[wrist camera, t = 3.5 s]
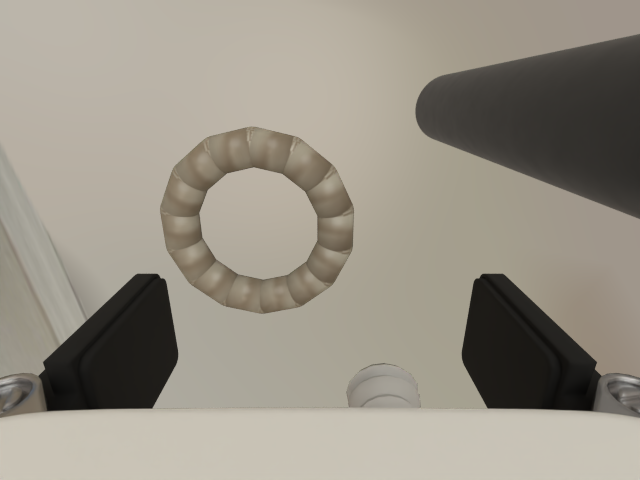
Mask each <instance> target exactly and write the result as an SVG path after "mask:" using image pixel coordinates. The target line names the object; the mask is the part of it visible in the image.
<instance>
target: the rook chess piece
mask: <svg viewBox="0 0 640 480" xmlns="http://www.w3.org/2000/svg"><path fill="white" fill-rule="evenodd" d="M347 397H348V404H349V408H420V396H419V393H418V386H417V383H416V381H415V380H414V378H413V377H412V375H411V374H410V373H408V372H407V371H405V370H403V369H402V368H400V367H398V366H395V365H390V364H385V363H383V364H375V365H370V366H368V367H366V368H364V369H362V370H361V371H359V372H358V373H357V374H356V375H355V376H354V377H353V379H352V380H351V381H350V383H349V386H348V389H347Z"/></svg>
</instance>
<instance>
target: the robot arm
mask: <svg viewBox="0 0 640 480" xmlns="http://www.w3.org/2000/svg"><path fill="white" fill-rule="evenodd" d="M177 360H178V348H177V342H176V336H175V331H174V325H173V319H172V313H171V307H170V301H169V295H168V290H167V284H166V281H165V279H161V278H160V276H159V275H158V274H136V275H135V276H134V277H133V278H132V279H131V280H130V281H129V282H127V283H126V284H125V285H124V286H123V287H122V288H121V289H120V290H119V291H118V292H117V293H116V294H115V295H114V296H113V297H112V298H111V299H110V300H108V301H107V302H106V303H105V304H104V305H103V306H102V307H101V308H100V309H99V310H98V311H97V312H96V313H95V314H94V315H93V316H91V317H90V318H89V319H88V320H87V321H86V322H85V323H84V324H83V325H82V326H81V327H80V328H79V329H78V330H77V331H76V332H75V333H73V334H72V335H71V336H70V337H69V338H68V339H67V340H66V341H65V342H64V343H63V344H62V345H61V346H60V347H59V348H58V349H57V350H56V351H54V352H53V353H52V354H51V355H50V356H49V357H48V358H47V359H46V360H45V361H44V362H43V364H44V366H45V370H44V371H43V372H42V373H41V374H40V375H39V376H37V375H34V374H29V373H20V374H13V375H9V376H5V377H2V378H0V480H640V378H638V377H635V376H631V375H627V374H620V373H611V374H606V375H604V376H601V375H600V374H599V373H598V372H597V371H596V370H595V366H596V364H597V362H596V361H595V360H594V359H593V358H592V357H591V356H590V355H589V354H588V353H587V352H586V351H584V350H583V349H582V348H581V347H580V346H579V345H578V344H577V343H576V342H575V341H574V340H573V339H572V338H571V337H570V336H569V335H568V334H567V333H565V332H564V331H563V330H562V329H561V328H560V327H559V326H558V325H557V324H556V323H555V322H554V321H553V320H552V319H551V318H550V317H549V316H547V315H546V314H545V313H544V312H543V311H542V310H541V309H540V308H539V307H538V306H537V305H536V304H535V303H534V302H533V301H532V300H530V299H529V298H528V297H527V296H526V295H525V294H524V293H523V292H522V291H521V290H520V289H519V288H518V287H517V286H516V285H515V284H514V283H513V282H511V281H510V280H509V279H508V278H507V277H506V276H505V275H504V274H482V275H481V276H480V278H479V279H475V281H474V284H473V290H472V296H471V301H470V308H469V313H468V319H467V325H466V331H465V336H464V342H463V348H462V360H463V363H464V366H465V367H466V369H467V371H468V373H469V375H470V377H471V378H472V380H473V382H474V384H475V386H476V388H477V390H478V391H479V393H480V395H481V397H482V399H483V401H484V402H485V404H486V406H487V408H488V409H466V408H327V407H325V408H324V407H322V408H321V407H314V408H175V409H152V408H153V406H154V404H155V402H156V401H157V399H158V397H159V395H160V393H161V391H162V389H163V388H164V386H165V384H166V382H167V380H168V378H169V377H170V375H171V373H172V371H173V369H174V367H175V366H176V363H177Z"/></svg>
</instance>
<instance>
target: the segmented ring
mask: <svg viewBox="0 0 640 480" xmlns="http://www.w3.org/2000/svg"><path fill="white" fill-rule="evenodd" d="M252 167H256V168H260V169H264V170H269V171H273V172H277V173H282V174H283V175H285V176H286V177H287V178H289V179H290V180H291V181H292V182H294V183H295V184H296V185H298V186H299V187H300V188H301V189H303V190H304V191H305V192H306V194H307V196H308V198H309V200H310V202H311V204H312V206H313V208H314V210H315V212H316V214H317V216H318V241H317V243H316V245H315V247H314V248H313V250H312V252H311V254H310V256H309V258H308V260H307V262H305V263H304V264H302V265H301V266H300V267H298V268H297V269H296V270H294V271H293V272H292V273H290V274H289V275H286V276H281V277H276V278H271V279H266V280H261V279H257V278H252V277H247V276H243V275H238V274H236V273H235V272H234V271H232V270H231V269H229V268H228V267H226V266H225V265H223V264H222V263H220V262H219V261H218V260H216V259H215V257H214V255H213V254H212V252H211V251H210V249H209V248H208V246H207V244H206V243H205V241H204V240H203V238H202V232H201V224H200V216H199V212H200V209H201V206H202V204H203V201H204V198H205V196H206V193H207V190H208V189H209V188H210V187H212V186H213V185H214V184H215V183H216V182H217V181H219V180H220V179H221V178H222V177H223V176H224V175H226V174H227V173H230V172H234V171H239V170H243V169H248V168H252ZM160 213H161V219H162V225H163V231H164V237H165V243H166V248H167V251H168V252H169V254H170V255H171V257H172V258H173V260H174V261H175V263H176V264H177V266H178V267H179V269H180V270H181V272H182V273H183V274H184V276H185V278H186V279H187V280H188V282H189V283H190V284H191V285H193V286H194V287H196V288H197V289H199V290H200V291H202V292H203V293H205V294H206V295H208V296H209V297H211V298H212V299H214V300H215V301H217V302H218V303H220V304H222V305H223V306H227V307H232V308H236V309H242V310H246V311H251V312H256V313H269V312H275V311H280V310H286V309H291V308H297V307H300V306H302V305H304V304H305V303H307V302H308V301H310V300H311V299H313V298H314V297H316V296H317V295H319V294H320V293H321V292H323V291H324V290H326V289H327V288H329V287H330V286H331V285H332V284H333V283H334V282H335V280H336V278H337V276H338V275H339V273H340V271H341V269H342V268H343V266H344V264H345V262H346V260H347V259H348V257H349V255H350V253H351V251H352V247H353V222H354V208H353V204H352V202H351V200H350V198H349V196H348V194H347V192H346V189H345V187H344V185H343V183H342V181H341V178H340V176H339V174H338V172H337V170H336V168H335V167H334V166H333V165H332V164H331V163H330V162H328V161H327V160H326V159H325V158H324V157H322V156H321V155H320V154H319V153H317V152H316V151H315V150H314V149H312V148H311V147H310V146H309V145H308V144H306V143H305V142H304V141H303V140H301V139H300V138H298V137H295V136H291V135H287V134H282V133H279V132H274V131H270V130H266V129H262V128H257V127H247V128H243V129H238V130H235V131H230V132H226V133H222V134H218V135H214V136H210V137H207V138H206V139H204V140H203V141H202V142H201V143H200V144H198V145H197V146H196V147H195V148H194V149H193V150H192V151H191V152H190V153H189V154H188V155H186V156H185V157H184V158H183V159H182V160H181V161H180V162H179V163H178V164H177V165H176V166H175V167H174V168H173V170H172V173H171V176H170V179H169V182H168V185H167V188H166V191H165V194H164V197H163V200H162V203H161V207H160Z"/></svg>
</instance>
